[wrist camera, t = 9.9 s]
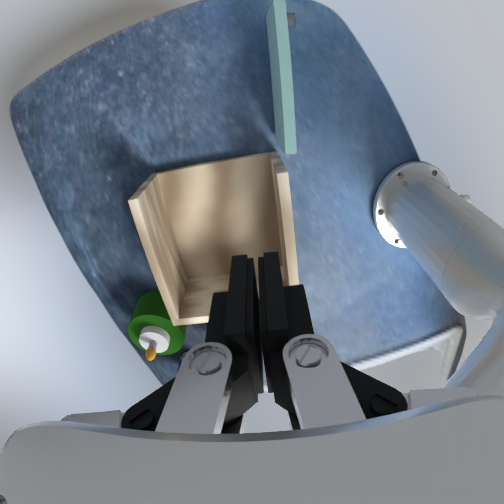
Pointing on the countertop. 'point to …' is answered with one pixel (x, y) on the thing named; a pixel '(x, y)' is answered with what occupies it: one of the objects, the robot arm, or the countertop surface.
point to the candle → (154, 327)
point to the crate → (213, 227)
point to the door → (282, 74)
